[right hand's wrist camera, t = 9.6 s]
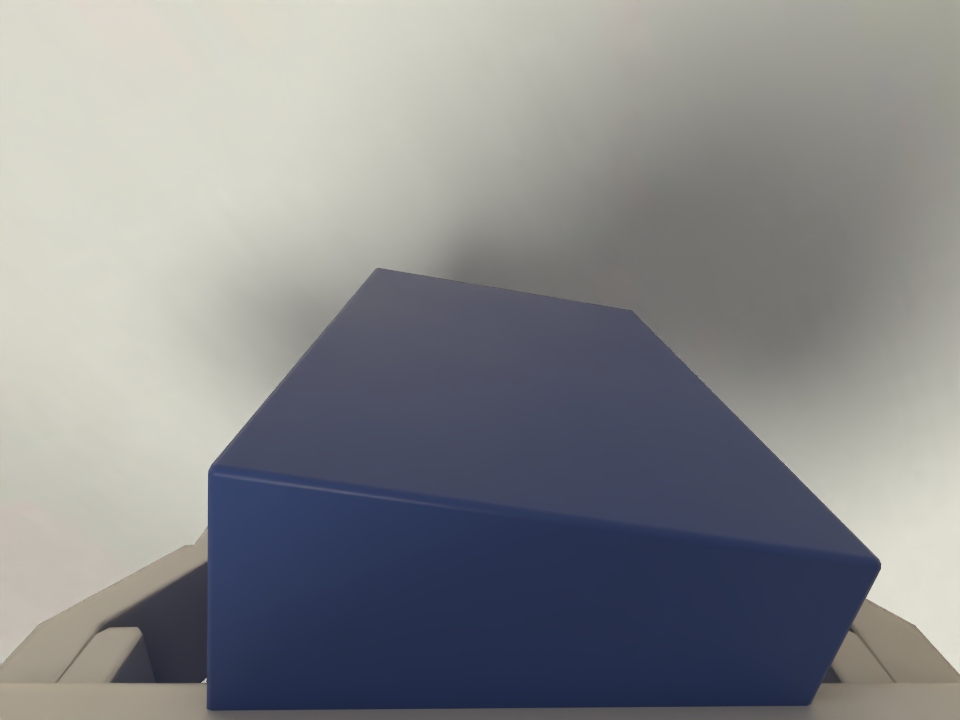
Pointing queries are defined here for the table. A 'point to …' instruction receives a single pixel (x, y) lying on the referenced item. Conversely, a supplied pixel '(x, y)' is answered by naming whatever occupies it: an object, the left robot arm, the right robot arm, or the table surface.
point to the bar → (512, 522)
